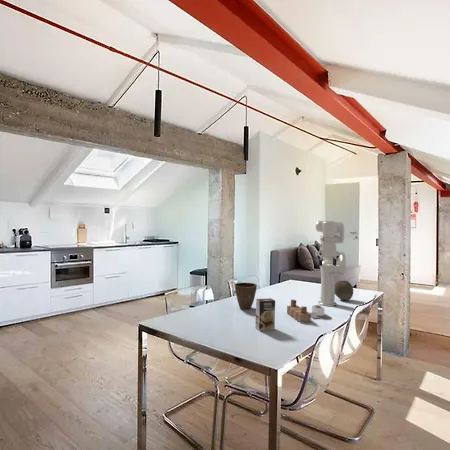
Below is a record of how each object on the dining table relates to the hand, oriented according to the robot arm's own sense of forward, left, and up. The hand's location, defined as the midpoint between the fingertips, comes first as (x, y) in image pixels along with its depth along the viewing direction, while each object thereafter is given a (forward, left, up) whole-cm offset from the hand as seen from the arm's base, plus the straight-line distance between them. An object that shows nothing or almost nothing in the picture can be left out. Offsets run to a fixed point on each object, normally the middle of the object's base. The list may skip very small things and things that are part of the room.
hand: (327, 265), depth 226 cm
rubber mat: (+10, -11, -30) cm, 34 cm away
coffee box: (+30, -52, -31) cm, 67 cm away
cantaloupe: (-28, +28, -31) cm, 50 cm away
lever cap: (+10, -11, -30) cm, 33 cm away
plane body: (+12, -25, -30) cm, 41 cm away
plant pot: (-14, -52, -31) cm, 62 cm away
